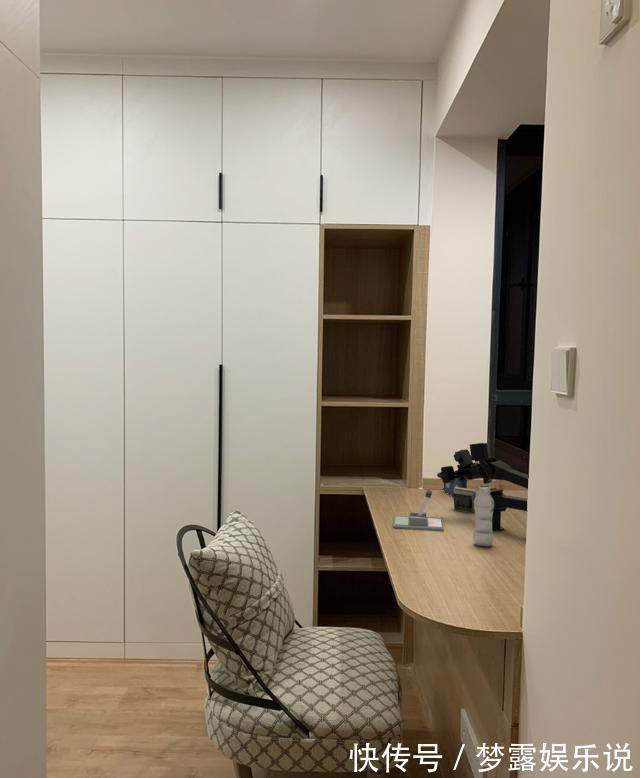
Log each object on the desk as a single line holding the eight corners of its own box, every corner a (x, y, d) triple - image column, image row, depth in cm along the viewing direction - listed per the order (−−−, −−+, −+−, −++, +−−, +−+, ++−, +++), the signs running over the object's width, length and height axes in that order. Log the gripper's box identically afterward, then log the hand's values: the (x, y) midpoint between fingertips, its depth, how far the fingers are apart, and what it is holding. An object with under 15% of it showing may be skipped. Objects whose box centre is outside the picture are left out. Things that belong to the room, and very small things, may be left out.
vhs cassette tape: (466, 502, 262) (467, 478, 262) (460, 502, 262) (460, 479, 261) (448, 491, 280) (449, 469, 280) (442, 491, 280) (443, 469, 279)
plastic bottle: (496, 548, 205) (498, 488, 203) (477, 549, 203) (479, 489, 202) (488, 541, 211) (490, 483, 209) (469, 542, 210) (471, 484, 208)
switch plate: (442, 520, 236) (442, 510, 235) (443, 531, 222) (444, 521, 221) (394, 517, 238) (394, 508, 238) (392, 528, 224) (393, 518, 224)
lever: (419, 519, 232) (431, 491, 230) (419, 523, 228) (431, 494, 226) (415, 517, 232) (427, 489, 231) (415, 521, 228) (427, 492, 226)
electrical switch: (478, 511, 249) (478, 488, 247) (473, 515, 244) (473, 492, 243) (455, 507, 254) (455, 485, 252) (451, 511, 249) (450, 489, 248)
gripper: (489, 447, 238) (459, 451, 251) (454, 452, 228) (425, 455, 241) (493, 476, 237) (464, 479, 249) (458, 482, 226) (429, 484, 239)
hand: (446, 473), depth 245 cm, fingers open, 9 cm apart
